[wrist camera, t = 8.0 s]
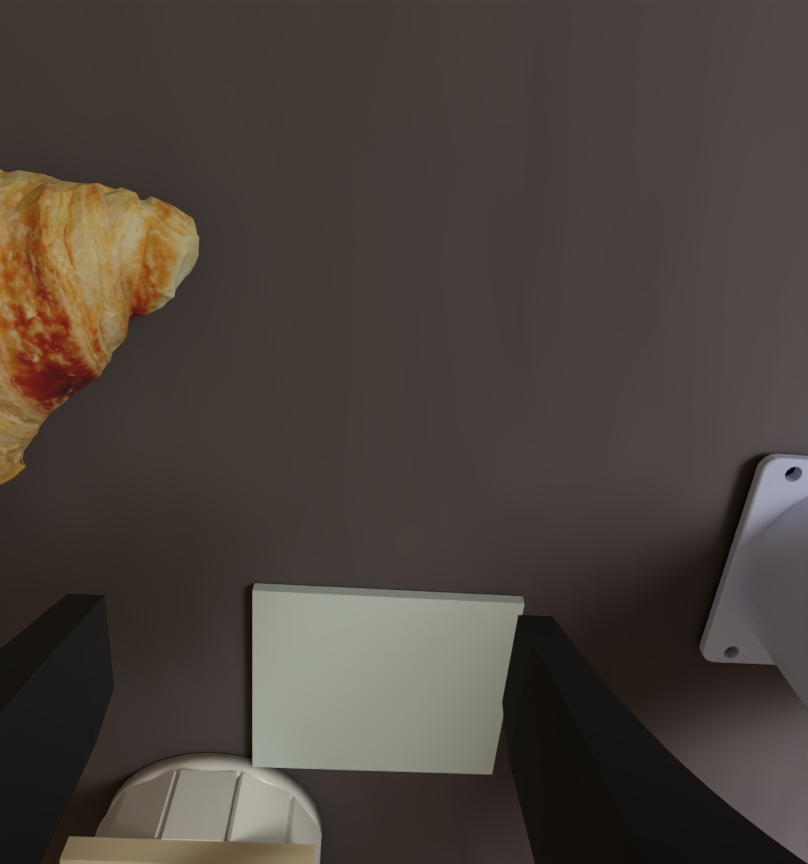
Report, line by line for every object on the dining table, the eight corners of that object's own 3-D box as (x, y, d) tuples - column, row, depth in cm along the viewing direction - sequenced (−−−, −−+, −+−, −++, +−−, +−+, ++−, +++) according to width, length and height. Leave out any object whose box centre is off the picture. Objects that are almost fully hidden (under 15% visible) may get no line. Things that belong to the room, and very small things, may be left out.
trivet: (522, 596, 25) (524, 603, 24) (490, 765, 28) (492, 774, 28) (254, 583, 24) (252, 590, 24) (253, 758, 27) (252, 766, 27)
